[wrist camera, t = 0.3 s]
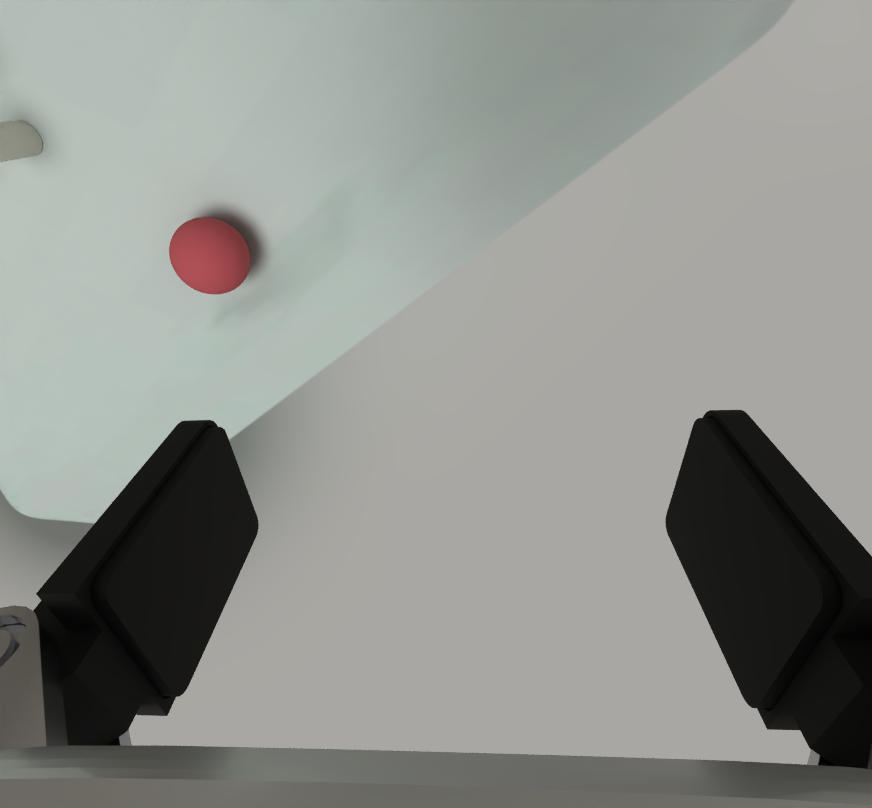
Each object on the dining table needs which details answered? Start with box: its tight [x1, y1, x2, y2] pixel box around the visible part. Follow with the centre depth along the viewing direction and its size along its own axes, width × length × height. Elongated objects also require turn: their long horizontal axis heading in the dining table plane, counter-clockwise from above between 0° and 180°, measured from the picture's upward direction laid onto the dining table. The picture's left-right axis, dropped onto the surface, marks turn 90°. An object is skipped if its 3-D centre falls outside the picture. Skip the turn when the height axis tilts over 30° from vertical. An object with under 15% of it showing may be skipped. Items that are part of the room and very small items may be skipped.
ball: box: [169, 217, 251, 294], centre depth 39 cm, size 6×6×6 cm
